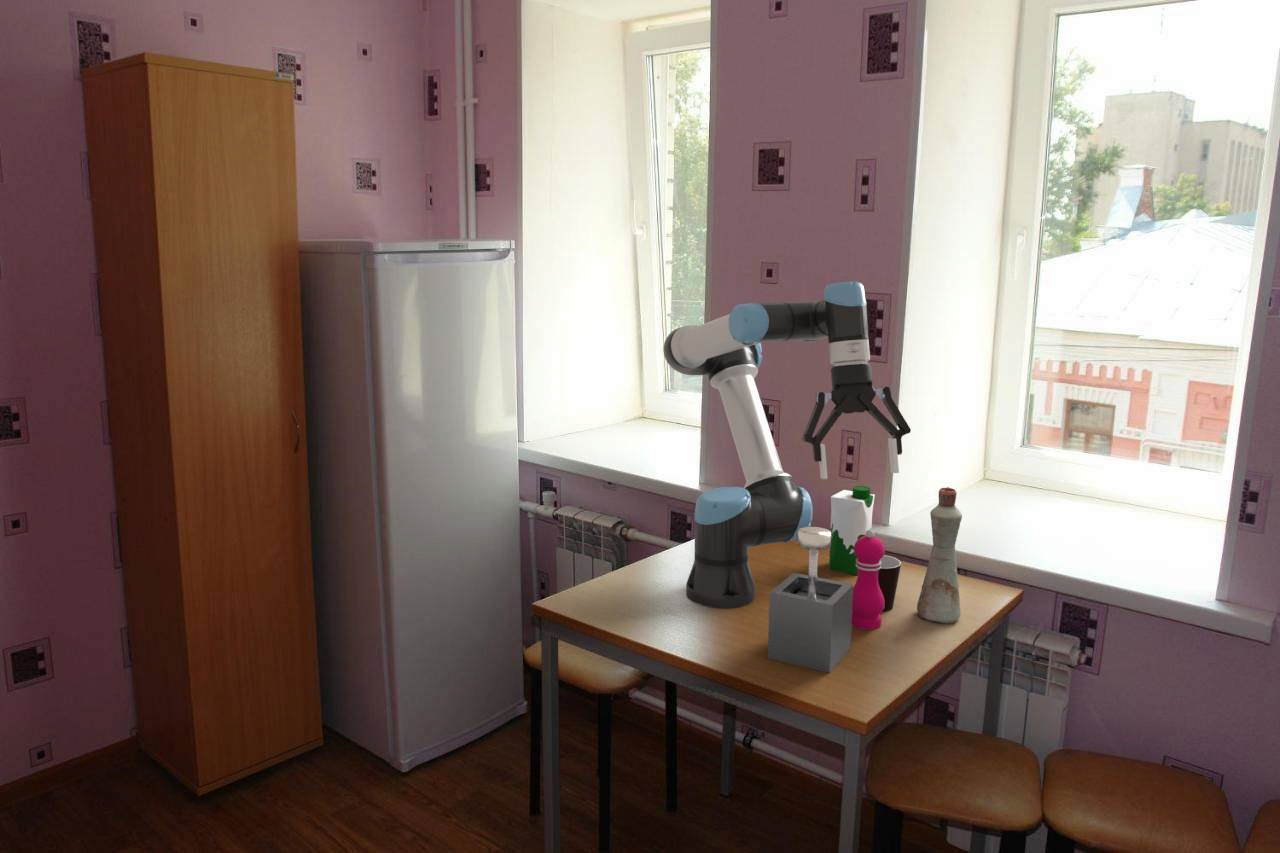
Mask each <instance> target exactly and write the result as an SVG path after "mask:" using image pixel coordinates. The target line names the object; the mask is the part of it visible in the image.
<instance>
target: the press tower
mask: <svg viewBox="0 0 1280 853" xmlns="http://www.w3.org/2000/svg"><path fill="white" fill-rule="evenodd" d="M854 585H855V583H849V582H844V581H840V580H838V581H837V580H834V579H828V578H824V577H823V578H822V577H818V576H817V590H816V595H821V596H826V597H830V598H829V599H828V600H827V601H826V600H821V599H816V598H811V597H806V596H801V595H796V593H797V592H798V591H801V592H806V593H808V574H807V575H806V574H801V573H796V572H792V574H790V575H789V576H787V578H785V579H784V580H783V581H781V582H780V583H779V584H778V585H777V586H776V587H775V588H774V589H772V590H771V591H770V592H769V601H768V602H769V606H768V609H769V610H768V611H769V612H768V636H767V637H768V639H767V659H769V660H774V661H776V662H777V661H778V662H782V663H786V664H790V665H795V666H798V667H802V668H807V669H811V670H816V671H819V672H824V673H828V674H830V673H831V672H832V671H833V670H834V668H835V667H836V666H837V665H838V664H839V663H840V661H841V660H842V659H843V658H844V657H845V655H847V653H848V652H849V651H850V649H851V642H852V641H851V640H852V638H851V637H852V625H851V623H852V604H853V587H854Z"/></svg>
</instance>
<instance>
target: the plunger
mask: <svg viewBox="0 0 1280 853" xmlns="http://www.w3.org/2000/svg"><path fill="white" fill-rule="evenodd" d="M797 545H798V547H800V548H801V549H805V550H808V552H809V553H808V574H807V575H808V593H806V592H801V591H798V592H797V593H796V595H801V596H806V597H811V598H816V599H821V600H826V601H827V600H828V599H829V598H830V597H826V596H821V595H816V590H817V577H818V565H819V564H818V561H819V551H824V550H827V549H830V546H831V530H829V529H827V528H824V527H819V526H810V527H804V528H801V529H799V530H798V539H797Z"/></svg>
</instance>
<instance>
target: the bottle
mask: <svg viewBox="0 0 1280 853" xmlns="http://www.w3.org/2000/svg"><path fill="white" fill-rule="evenodd" d="M956 499H957V491H956V489H954V488H952V487H949V486H946V487H942V488H940V489H939V490H938V504H937V505H936V506H935V507H934V508H932V509H931V510H930V512H929V514H930V521H931V522H930V523H931V534H932V547H931V551H930V556H929V559H928V562H927V566H926V572H925V574H924V575H925V576H924V579H923V582H922V583H923V584H922V585H921V591H920V594H919V597H918V600H917V605H916V611H917V615H918V616H919V617H920V618H922V619H924V620H929V621H932V622H937V623H941V624H949V625H951V624H952V623H954V622H955V623H956V622H957V621H958V620H959V619H960V617H961V615H962V614H961V613H962V612H961V601H960V600H961V599H960V589H959V588H960V585H959V583H960V582H959V579H958V567H957V566H958V565H957V554H956V553H957V552H956V541H957V538H958V535H959V530H960V526H961V522H962V518H963V513H962V512H961V511H960V509H959V507H957V506H956V501H957V500H956Z"/></svg>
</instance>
